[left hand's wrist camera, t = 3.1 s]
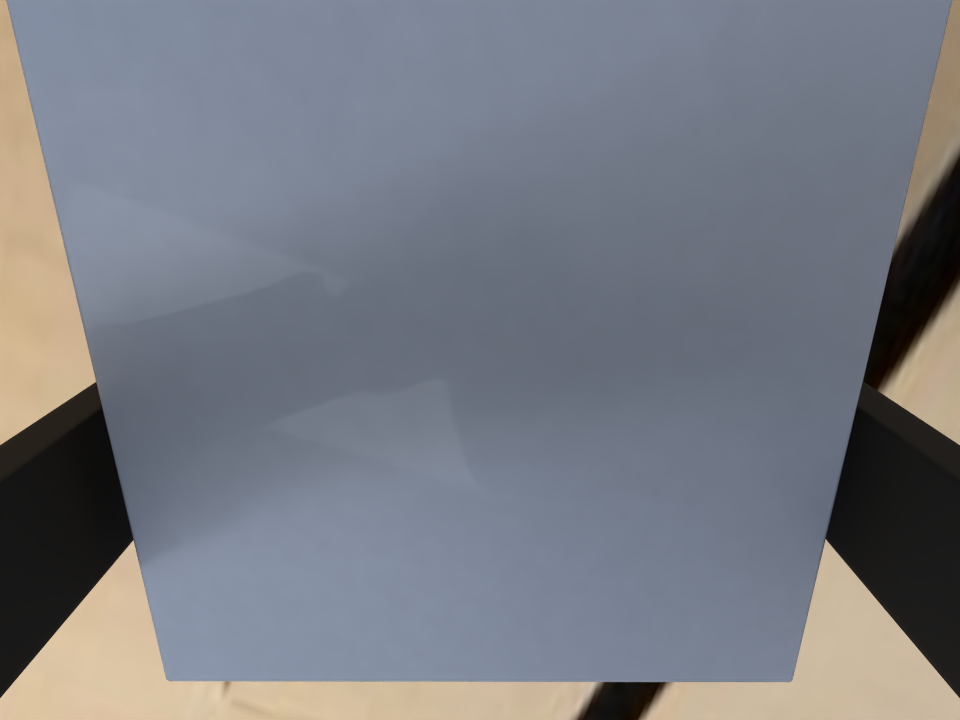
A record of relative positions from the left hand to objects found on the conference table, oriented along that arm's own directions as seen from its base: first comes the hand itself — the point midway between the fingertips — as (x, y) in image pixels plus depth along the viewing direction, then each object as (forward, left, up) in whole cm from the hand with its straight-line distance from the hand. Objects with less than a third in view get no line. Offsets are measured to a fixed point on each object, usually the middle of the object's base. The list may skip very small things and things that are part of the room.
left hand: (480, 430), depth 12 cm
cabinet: (+5, -3, -7) cm, 9 cm away
